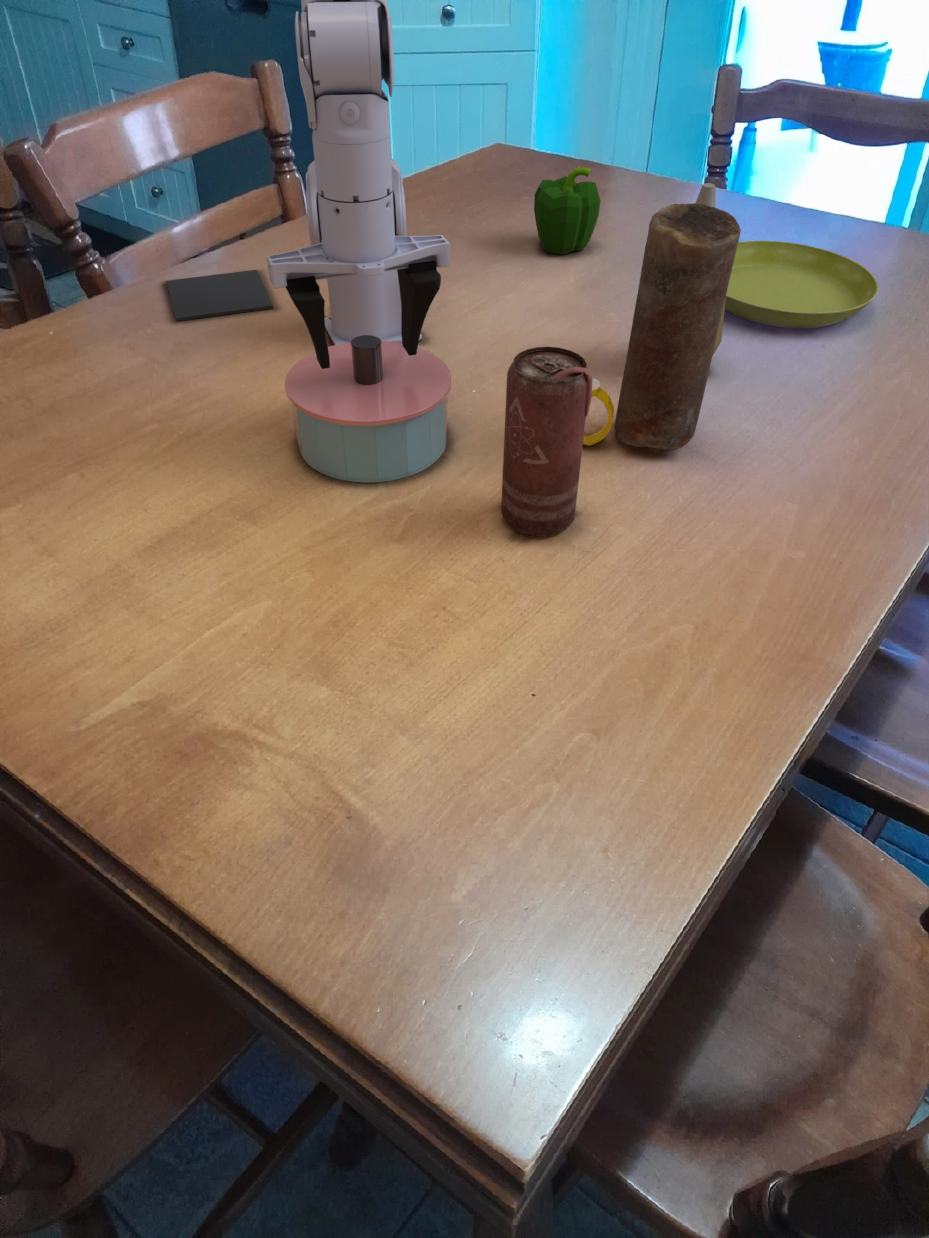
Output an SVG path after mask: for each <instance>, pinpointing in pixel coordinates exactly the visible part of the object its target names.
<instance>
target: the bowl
mask: <svg viewBox="0 0 929 1238" xmlns="http://www.w3.org/2000/svg"><path fill="white" fill-rule="evenodd" d="M291 407H292V415H293V422H294V428H295V436H296V442H297V445H298V449H299V453H300V455H301V457H302V459H303V460H304V461H305V462H306V464H308V465H309V466H310V468H312V469H314V470H315V471H317V472H319V473H321V474H323V475H325V476H328V477H330V478H333V479H336V480H341V481H346V482H353V483H383V482H385V483H386V482H390V481H396V480H401V479H404V478H407V477H411V476H414V475H416V474H418V473H420V472H422V471H424V470H426V469H428V468H429V467H431V466H432V465H433V464H434V463H435V462H436V461H438V460H439V459H440V457H441V456H442V455H443V454H444V451H445V449H446V446H447V436H448V396H447V397H446V398H445V399H444V400H443V402H441V403H440V404H439V405H438V406H437V407H435V408H434V409H432V410H431V411H429V412H427V413H425V414H423V415H420V416H418V417H415V418H413V419H409V420H406V421H402V422H398V423H393V424H386V425H377V426H349V425H341V424H334V423H330V422H325V421H322V420H319V419H316V418H313V417H311V416H309V415H307V414H305V413H303V412H302V411H300V410H299V409H297V408H296V407H295V406H294V405H293V404H292V403H291Z"/></svg>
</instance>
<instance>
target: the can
mask: <svg viewBox="0 0 929 1238" xmlns="http://www.w3.org/2000/svg"><path fill="white" fill-rule="evenodd" d="M592 378H594V377H593V375H592V373H591V371H590V370H589V368H588V363H587V362H586V359H585V358H584V357H583V356H581V354H579V353H577V352H575V351H573V350H570V349H567V348H562V347H555V346H536V347H532V348H526V349H525V350H522V351H520V352H519V353H517V354H516V355H515V356H514V357H513V360H512V362H511V364H510V365H509V367H508V369H507V373H506V389H505V390H506V391H505V392H506V393H505V410H504V411H505V412H504V413H505V414H504V435H503V436H504V437H503V438H504V439H503V457H502V459H503V460H502V479H501V480H502V481H501V500H500V501H501V502H500V503H501V504H500V514H501V516H502V519H503V520H504V522H505V523H506V524H507V526H508V527H509V528H510V529H511V530H512V531H514V532H516V533H517V534H519V535H522V536H525V537H528V538H530V537H531V538H536V539H537V538H538V539H542V538H550V537H554V536H557V535H559V534H561V533H563V532H564V531H567V529H568V528H569V527H570V526H571V524H573V522H574V521H575V515H576V509H577V500H578V491H579V490H578V489H579V483H580V482H579V481H580V473H581V464H582V454H583V446H584V444H583V438H584V435H585V430H586V419H587V417H588V414H589V410H590V406H591V402H592V398H593V397H592Z"/></svg>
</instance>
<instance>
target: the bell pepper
mask: <svg viewBox="0 0 929 1238" xmlns="http://www.w3.org/2000/svg"><path fill="white" fill-rule="evenodd" d="M591 171H592V169H591V168H588V167H586V166H581V167H576V168H574V169H572V170H570V171H569V172H568V175H564V176H562V177H559V178H557V179H555V180H553V179H542V180H541V182H540V184H539V185H538V187H537V188H536V191H535V193H534V201H533V202H534V203H533V204H534V205H533V212H534V219H535V225H536V230H537V236H538V238H539V241H540V243H541V245H542V247H543V249H544V251H547V252H549V253H551V254H558V255H565V254H568V253H572V252H574V251H583V250H585V248H586V246H587V245H588V244H589V242H590V241H591V239H592V236H593V234H594V231H595V228H596V225H597V222H598V219H599V215H600V207H601V202H602V201H601V196H600V194H599V190H598V185H597V183H596V182H595V181H587V180H586V181H579V182H577V181H575V180H576V178H577V177H578V176H584V177H585V178H588V177H589V175H590V173H591Z"/></svg>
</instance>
